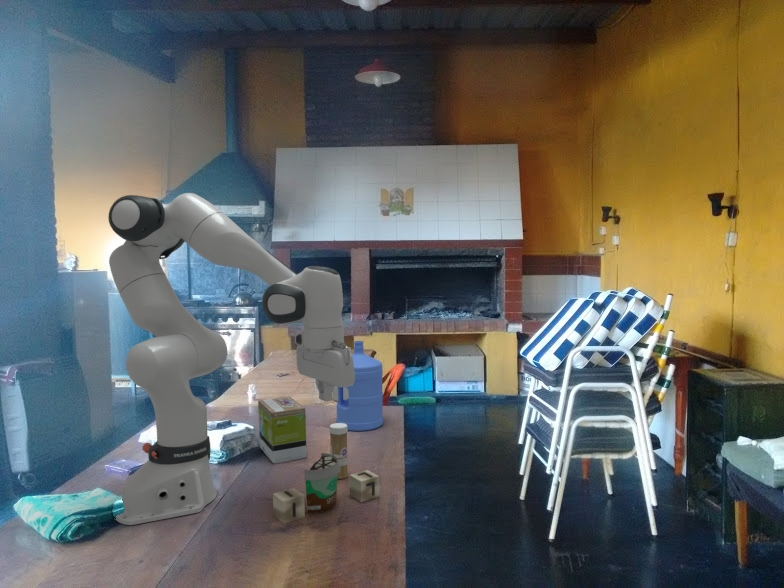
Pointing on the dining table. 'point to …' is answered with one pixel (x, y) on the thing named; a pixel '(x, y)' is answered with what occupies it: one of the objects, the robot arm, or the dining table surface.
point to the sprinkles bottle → (339, 446)
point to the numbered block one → (288, 505)
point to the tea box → (282, 429)
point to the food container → (322, 484)
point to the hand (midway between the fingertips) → (325, 400)
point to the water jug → (362, 394)
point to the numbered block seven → (364, 485)
